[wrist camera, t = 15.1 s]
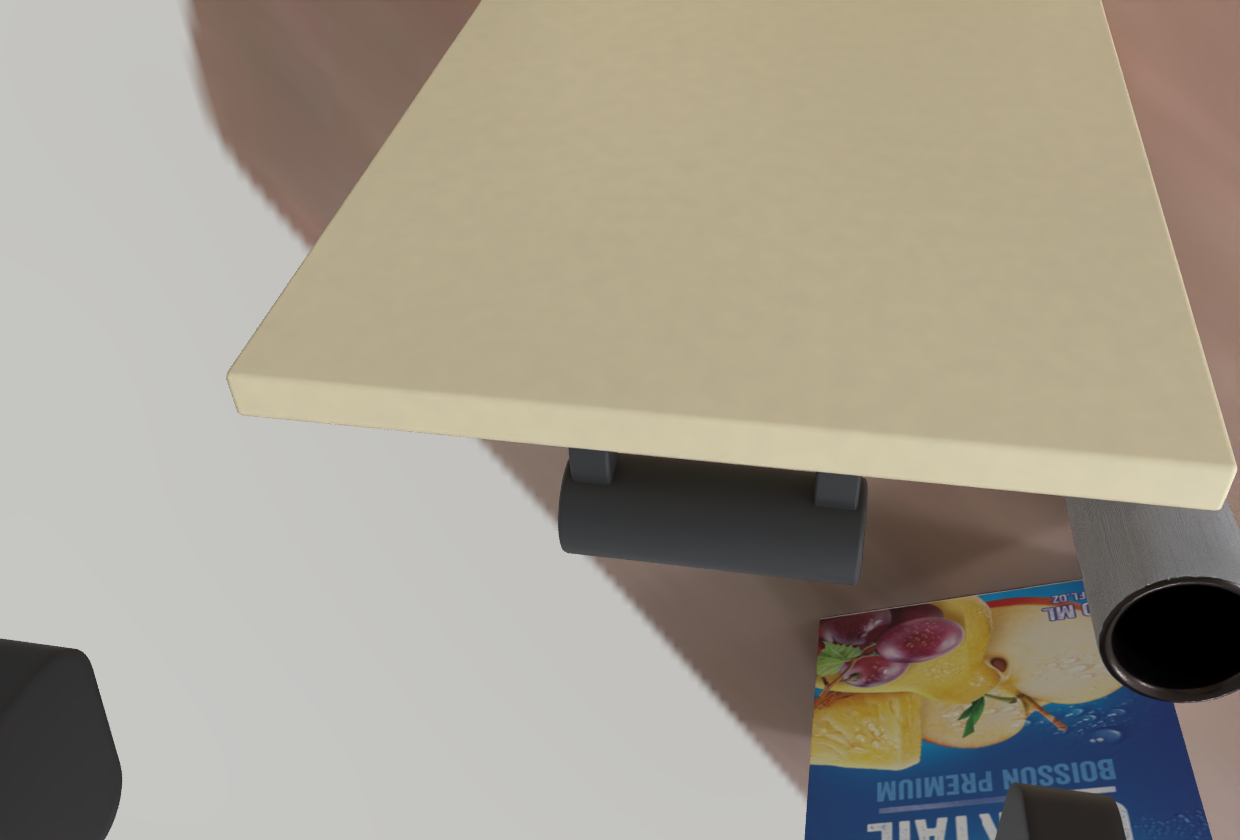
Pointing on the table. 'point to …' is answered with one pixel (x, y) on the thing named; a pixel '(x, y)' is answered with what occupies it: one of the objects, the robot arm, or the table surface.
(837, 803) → the juice carton
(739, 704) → the table surface
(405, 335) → the lid
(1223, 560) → the planter
